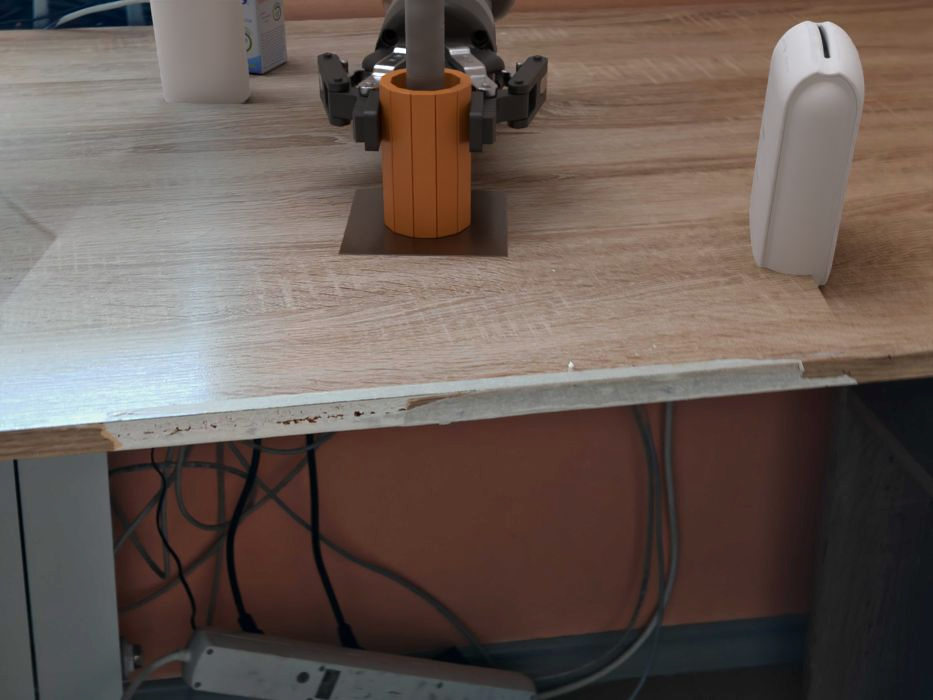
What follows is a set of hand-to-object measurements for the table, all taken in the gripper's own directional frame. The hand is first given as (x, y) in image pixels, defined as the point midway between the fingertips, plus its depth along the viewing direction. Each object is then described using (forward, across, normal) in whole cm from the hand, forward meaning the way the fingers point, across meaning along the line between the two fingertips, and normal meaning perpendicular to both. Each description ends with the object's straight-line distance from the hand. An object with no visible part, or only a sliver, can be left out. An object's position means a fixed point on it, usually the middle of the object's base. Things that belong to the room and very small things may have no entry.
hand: (423, 133), depth 56 cm
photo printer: (-2, +20, +7) cm, 21 cm away
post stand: (-3, 0, +7) cm, 8 cm away
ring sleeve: (-3, 0, +6) cm, 7 cm away
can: (-27, -18, +7) cm, 33 cm away
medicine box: (-37, -18, +7) cm, 41 cm away
